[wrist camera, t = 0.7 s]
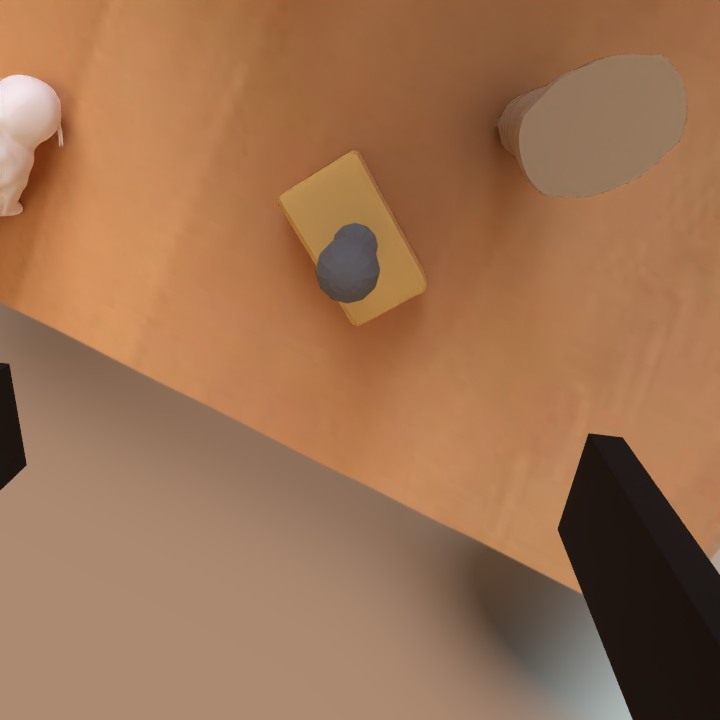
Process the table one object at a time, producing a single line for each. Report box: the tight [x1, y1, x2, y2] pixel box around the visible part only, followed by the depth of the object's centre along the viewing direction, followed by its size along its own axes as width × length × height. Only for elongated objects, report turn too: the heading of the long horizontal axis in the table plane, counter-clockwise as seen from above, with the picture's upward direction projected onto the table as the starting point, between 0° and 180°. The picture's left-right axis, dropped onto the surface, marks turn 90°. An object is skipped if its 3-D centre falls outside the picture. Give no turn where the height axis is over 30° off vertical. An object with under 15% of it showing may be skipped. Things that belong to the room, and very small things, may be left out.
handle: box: [496, 54, 687, 197], centre depth 29 cm, size 5×6×15 cm
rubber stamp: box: [278, 150, 427, 326], centre depth 33 cm, size 10×6×12 cm, turn 30°
